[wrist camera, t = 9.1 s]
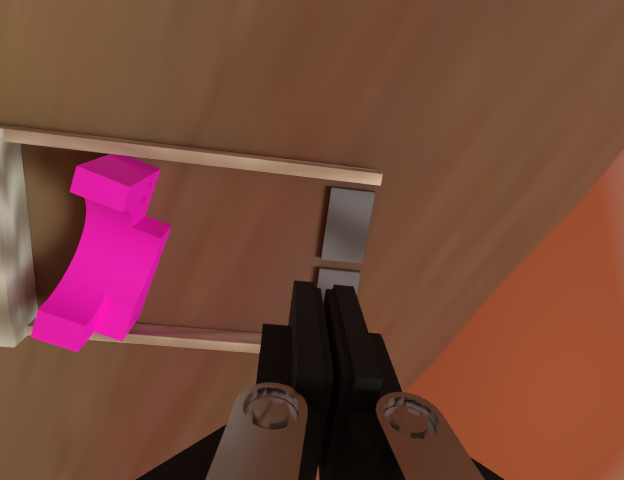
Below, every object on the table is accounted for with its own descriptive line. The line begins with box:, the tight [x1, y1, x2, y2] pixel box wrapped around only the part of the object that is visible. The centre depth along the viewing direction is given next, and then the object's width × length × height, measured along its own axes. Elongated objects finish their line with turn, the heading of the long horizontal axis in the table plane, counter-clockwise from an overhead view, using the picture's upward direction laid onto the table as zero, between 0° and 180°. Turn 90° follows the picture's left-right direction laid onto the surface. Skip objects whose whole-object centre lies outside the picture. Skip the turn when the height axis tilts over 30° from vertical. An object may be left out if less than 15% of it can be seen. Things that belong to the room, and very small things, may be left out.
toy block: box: [31, 154, 172, 352], centre depth 35 cm, size 15×6×8 cm, turn 156°
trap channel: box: [0, 124, 383, 353], centre depth 37 cm, size 19×32×4 cm, turn 83°
